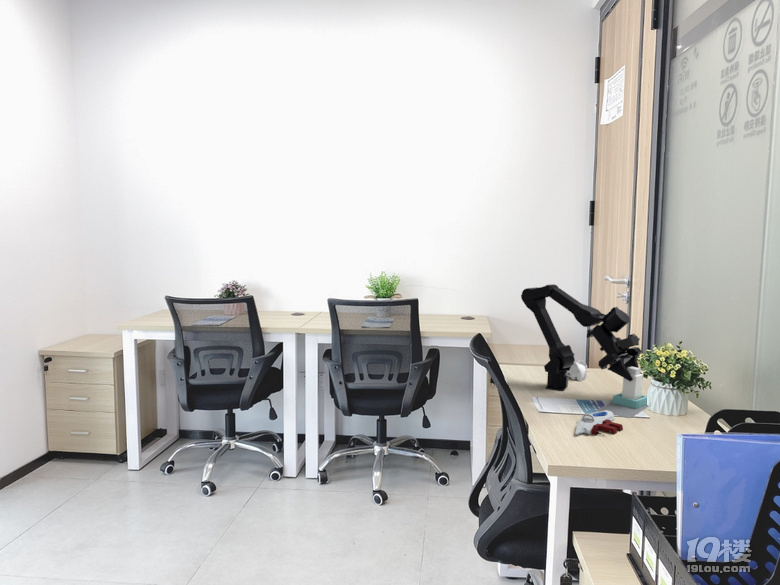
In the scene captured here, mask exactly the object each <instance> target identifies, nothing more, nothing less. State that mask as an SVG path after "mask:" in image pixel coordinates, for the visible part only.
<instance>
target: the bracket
mask: <svg viewBox="0 0 780 585" xmlns="http://www.w3.org/2000/svg"><path fill="white" fill-rule="evenodd" d="M623 430H624V426H623V423H618V422H614V421H611V420H608V419H606V420H604V421H603V422H602V424H598V423H597V424H595V425H593V427H592V433H591V434H590V435H591V436H595V437H596V436H598V435H601V434H602V436H604V434H603V433H609V432H610V434H612V435H616V434H617V433H618V432H621V431H623ZM601 432H603V433H601ZM597 434H598V435H597Z"/></svg>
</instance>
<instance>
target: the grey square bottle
mask: <svg viewBox="0 0 780 585" xmlns="http://www.w3.org/2000/svg"><path fill="white" fill-rule="evenodd" d="M627 370H628V372H629V373H630V375H631V377H632V379H633V380H632V381H628V380H627V379H625V378H623V377H622V390H621V391H622V392H621V393H622V397H624V398H628V399H632V400H638V399H641V395H643V394H642V393H643V392H642V391H643V384H644V383H643V381H644V374H643V373H641V374H640V372H641V367H639V368H637V367H628V368H627Z"/></svg>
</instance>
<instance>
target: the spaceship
mask: <svg viewBox="0 0 780 585" xmlns="http://www.w3.org/2000/svg"><path fill="white" fill-rule="evenodd" d="M606 419H608V420H611V422H614V420H615V415H614V414H613V413H612V412H611V411H608V410H605V411H600V412H598V411H595V412H591V413H585V414H584V415H583V416H581V418H580V419H579V420H578V422H576V423H577V424H576V427H575V430H574V431H575V432H574V436H579V435H580V434H585V436H590V435H591V434H592V427H593V425H595V424H597V423H598V424H602V422H603V421H604V420H606Z"/></svg>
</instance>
